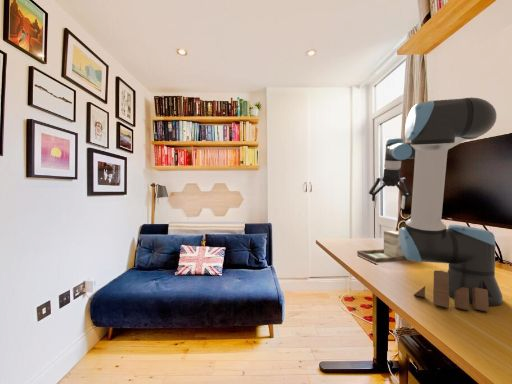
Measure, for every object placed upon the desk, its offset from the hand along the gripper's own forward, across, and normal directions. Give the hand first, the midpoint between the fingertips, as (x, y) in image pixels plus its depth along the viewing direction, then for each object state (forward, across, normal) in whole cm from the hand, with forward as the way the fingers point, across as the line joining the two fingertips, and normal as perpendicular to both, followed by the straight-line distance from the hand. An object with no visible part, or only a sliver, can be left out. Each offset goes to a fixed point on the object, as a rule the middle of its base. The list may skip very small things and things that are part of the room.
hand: (388, 207), depth 131 cm
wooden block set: (+14, -5, +62) cm, 63 cm away
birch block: (+23, -4, +10) cm, 25 cm away
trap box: (+24, -8, +9) cm, 27 cm away
